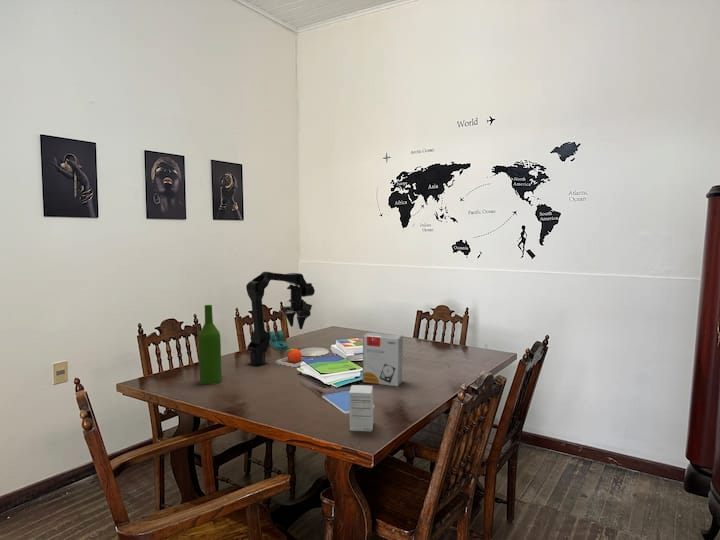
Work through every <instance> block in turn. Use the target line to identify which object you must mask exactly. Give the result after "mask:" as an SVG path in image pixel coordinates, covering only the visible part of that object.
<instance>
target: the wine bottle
mask: <svg viewBox="0 0 720 540" xmlns="http://www.w3.org/2000/svg"><path fill="white" fill-rule="evenodd" d="M213 319H214V317H213V305H212V304H205V305H204V325H203V327H202V328H201V330H200V331H199V333H198V337H197V338H198V340H197V341H198V361H199V362H198V363H199V365H198V367H199V368H198V369H199V383H200V382H201V383H200V384H202V383H203V384H202V385H215V384H214V383H216V384H218V382H219V383H221V382H222V380H223V379H222V378H223V377H222V375H223V372H222V349H221V348H222V347H221V346H222V345H221V344H222V343H221V333H220V331H219V329H218V328H217V326H216V325H215V324H214V322H213V321H214V320H213ZM220 381H221V382H220Z"/></svg>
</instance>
